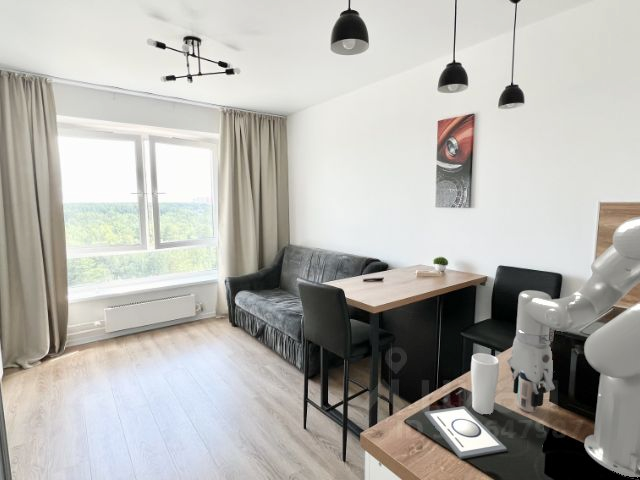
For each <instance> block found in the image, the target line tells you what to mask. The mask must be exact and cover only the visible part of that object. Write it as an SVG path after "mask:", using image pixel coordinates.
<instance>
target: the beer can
mask: <svg viewBox="0 0 640 480" xmlns="http://www.w3.org/2000/svg"><path fill="white" fill-rule="evenodd" d="M538 388H540V384H538ZM532 392H534V389H533V384H532V381H531V380H529V379H528V378H527V377H526V375H525V373H524V372H523V371H521V370H520V373H519V383H518V393H517V401H516V404H517V407H518V408H519V409H521V410H522V411H523V412H527V413H535V412H537V411H538V406H537V407H533V406H531V396H532Z"/></svg>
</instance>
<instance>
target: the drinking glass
mask: <svg viewBox="0 0 640 480" xmlns="http://www.w3.org/2000/svg"><path fill="white" fill-rule="evenodd" d="M499 369H500V361H499V359H498V358H497V357H495V356H494V355H491V354H488V353H480V352H479V353H475V354H473V355H472V356H471V362H470V379H471V380H470V381H471V401H472V402H471V406H472V409H473V410H474V411H475V412H476V413H477V414H480V415H483V414H489V415H492V414H493V412H494V405H495V398H496V393H497V387H498V379H499ZM491 413H492V414H491Z"/></svg>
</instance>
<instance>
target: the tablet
mask: <svg viewBox="0 0 640 480" xmlns="http://www.w3.org/2000/svg"><path fill="white" fill-rule="evenodd" d="M423 414H424V415H425V417H426V418H427V419H428V421H429V422H430V423H431V424H432V425H433V427H434V426H435V427H434V428H435V429H436V431H437V432H438V431H439V432H440V433H439V432H438V433H439V434H440V435H441V437H442V438H443V439H444V440H445V442H446V443H447V444H448V446H449V447H450V448H451V449H452V451H453V452H454V453H455V454H456V455H457V457H458V458H459V459H460V460H463V459H469V458H474V457H478V456H479V457H480V456H485V455H486V456H487V455H491V454H496V453H497V454H498V453H501V452H507V451H508V449H507V447H506V446H505V445H504V444H503V443H502V442H501V441H500V440H499V439H498V437H496V436H495V435H494V434H493V433H492V432H491V431H490V430H489V429H488V428H487V427H486V426H485V425H484V424H482V422H481V421H480V420H479V419H478V418H477V417H476V416H475V415H473V414H472V412H470V410H469V409H468V408H466V406H464V405H462V406H458V407H450V408H443V409H436V410H430V411H424V412H423Z"/></svg>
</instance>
